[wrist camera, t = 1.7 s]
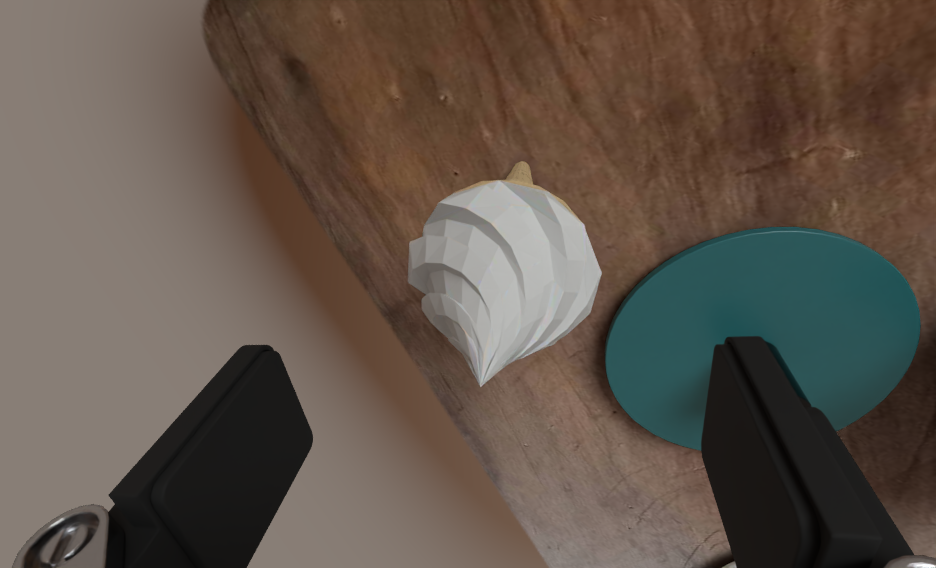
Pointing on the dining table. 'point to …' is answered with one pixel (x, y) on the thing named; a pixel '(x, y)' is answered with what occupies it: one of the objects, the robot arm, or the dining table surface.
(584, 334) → the dining table surface
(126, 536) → the robot arm
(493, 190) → the ice cream cone
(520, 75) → the dining table surface
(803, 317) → the pot lid
